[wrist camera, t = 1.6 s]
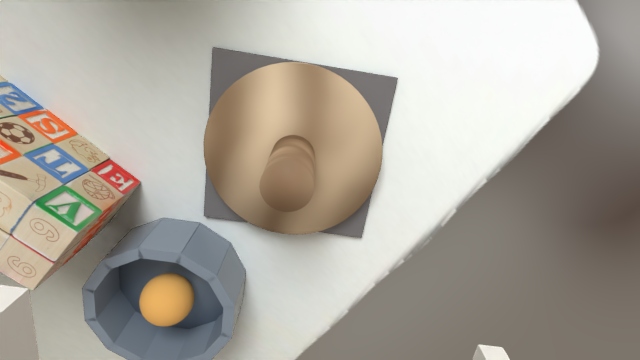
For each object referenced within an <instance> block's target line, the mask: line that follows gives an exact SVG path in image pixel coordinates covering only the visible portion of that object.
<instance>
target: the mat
mask: <svg viewBox="0 0 640 360" xmlns="http://www.w3.org/2000/svg"><path fill="white" fill-rule="evenodd" d="M282 62H299V61H293V60H287V59H281V58H275V57H269V56H263V55H257V54H251V53H245V52H239V51H233V50H227V49H221V48H215V47H213V50H212V69H211V89H210V108H209V117H210V114H211V112H212V110H213V108H214V106H215V105H216V103H217V101H218V100H219V98H220V97H221V96H222V95H223V93H224V92H225V91H226V90H227V89H228V88H229V87H230V86H231V85H232V84H233V83H235V82H236V81H237V80H239V79H240V78H242V77H243V76H245V75H246V74H248V73H250V72H252V71H254V70H256V69H258V68H261V67H264V66H267V65H271V64H276V63H282ZM301 63H305V62H301ZM308 64H311V63H308ZM313 65H317V64H313ZM317 66H320V67H323V68H325V69H328V70H330V71H332V72H334V73H336V74H338V75H339V76H341V77H342V78H344V79H345V80H346V81H348V82H349V83H350V84H351V85H352V86H354V87H355V88H356V89H357V90H358V91H359V93H360V94H361V95H362V96H363V98H364V99H365V100H366V102H367V103H368V105H369V106H370V108H371V110H372V112H373V113H374V115H375V118H376V120H377V123H378V126H379V130H380V133H381V139H382V145H383V141H384V137H385V132H386V128H387V123H388V119H389V115H390V110H391V106H392V101H393V97H394V92H395V88H396V84H397V79H398V78H396V77H390V76H384V75H378V74H372V73H366V72H360V71H354V70H348V69H342V68H336V67H330V66H324V65H317ZM371 194H372V192H371V193H370V195H369V196H368V198H367V199H366V201H365V202H364V203H363V204H362V205H361V207H360V208H359V209H357V210H356V211H355V212H354V213H353V214H352V215H351V216H349V217H348V218H347V219H345V220H344V221H342V222H340V223H338V224H337V225H335V226H332V227H330V228H328V229H325V230H322V231H318V232H324V233H331V234H338V235H346V236H353V237H360V238H362V233H363V229H364V225H365V220H366V216H367V211H368V207H369V203H370V198H371ZM204 216H208V217H215V218H222V219H230V220H237V221H244V222H248V221H246V220H245V219H243V218H242V217H240V216H239V215H238V214H236V213H235V212H234V211H233V210H232V209H231V208H230V207H229V206H228V205H227V204H226V203H225V202H224V201H223V199H222V198H221V197H220V196H219V194H218V193H217V191H216V189H215V188H214V186H213V184H212V182H211V179H210V177H209V174H208V171H207V168H206V185H205V204H204Z"/></svg>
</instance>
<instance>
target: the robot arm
mask: <svg viewBox="0 0 640 360" xmlns="http://www.w3.org/2000/svg"><path fill="white" fill-rule="evenodd" d="M0 360H39V354H38V348H37V341H36V334H35V327H34V320H33V314H32V307H31V300H30V293H29V289H28V288H20V287H12V286H4V285H0ZM472 360H510V359H509V358H508V356H507V354H506V352H505V351H504V349H503V348H502V347H495V346H487V345H478V346H477V349H476V351H475V354H474V356H473V359H472Z"/></svg>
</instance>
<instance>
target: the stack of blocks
mask: <svg viewBox="0 0 640 360" xmlns="http://www.w3.org/2000/svg"><path fill="white" fill-rule="evenodd" d="M139 184H140V181H139V180H138V179H136V178H135V177H134V176H132V175H131V174H130V173H128V172H127V171H125V170H124V169H123V168H121V167H120V166H119V165H117V164H116V163H115V162H113V161H112V160H110V159H109V157H108V156H107V155H106V154H105V153H103V152H102V151H101V150H99V149H98V148H97V147H95V146H94V145H93V144H91V143H90V142H89V141H88V140H86V139H85V138H83V137H82V136H80V135H78V134H77V132H75V131H74V130H73V129H72V128H70V127H69V126H68V125H67V124H65V123H64V122H63V121H61V120H60V119H59V118H58V117H56V116H55V115H54V114H52V113H51V112H50V111H48V110H47V109H44V108H43V107H42V106H41V105H39V104H38V103H37V102H35V101H34V100H32V99H31V98H30V97H29V96H27V95H26V94H25V93H23V92H22V91H21V90H19V89H18V88H17V87H15V86H14V85H13V84H12V83H9V82H8V81H7V80H6V79H5V78H3V77H2V76H1V75H0V272H1V273H3V274H5V275H6V276H8V277H10V278H11V279H12V280H14V281H16V282H17V283H19V284H21V285H23V286H24V287H26V288H28V289H29V290H32V291H33V290H34V289H35V288H37V287H38V286H39V285H40V284H41V283H42V282H44V281H45V280H46V279H47V278H48V277H49V276H50V275H52V274H53V273H54V272H55V271H56V270H57V269H59V268H60V267H61V266H62V265H64V264H65V263H66V262H67V261H68V260H69V259H71V258H72V257H73V256H74V255H75V254H76V253H77V252H78V251H79V250H81V249H82V248H83V247H84V246H85V245H86V244H87V243H88V242H89V241H90V240H91V239H92V238H93V237H94V236H95V235H97V234H98V233H99V232H100V231H101V230H102V229H103V228H104V227H105V226H106V225H107V223H108V222H109V221H110V220H111V218H112V217H113V216H114V215H115V214H116V212H117V211H118V210H119V209H120V208H121V206H122V205H123V204H124V203H125V202H126V201H127V200H128V198H129V197H130V196H131V195H132V193H133V192H134V191H135V190H136V188H137V187H138V185H139Z"/></svg>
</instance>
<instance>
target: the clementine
mask: <svg viewBox="0 0 640 360" xmlns="http://www.w3.org/2000/svg"><path fill="white" fill-rule="evenodd" d="M193 303H194V290H193V287H192V285H191V283H190V282H189V281H188V280H187V279H186V278H185V277H183V276H181V275H179V274H175V273H165V274H161V275H158V276H156V277H154V278H153V279H151V280H150V281H149V282H148V283H147V284H146V285H145V287H144V288H143V290H142V292H141V295H140V300H139V305H140V310H141V313H142V315H143V316H144V318H145V319H146V320H147V321H148V322H150V323H151V324H153V325H156V326H171V325H174V324H177V323H178V322H180V321H182V320H183V319H184V318H185V317H186V316H187V315H188V314H189V312H190V311H191V309H192V307H193Z"/></svg>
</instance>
